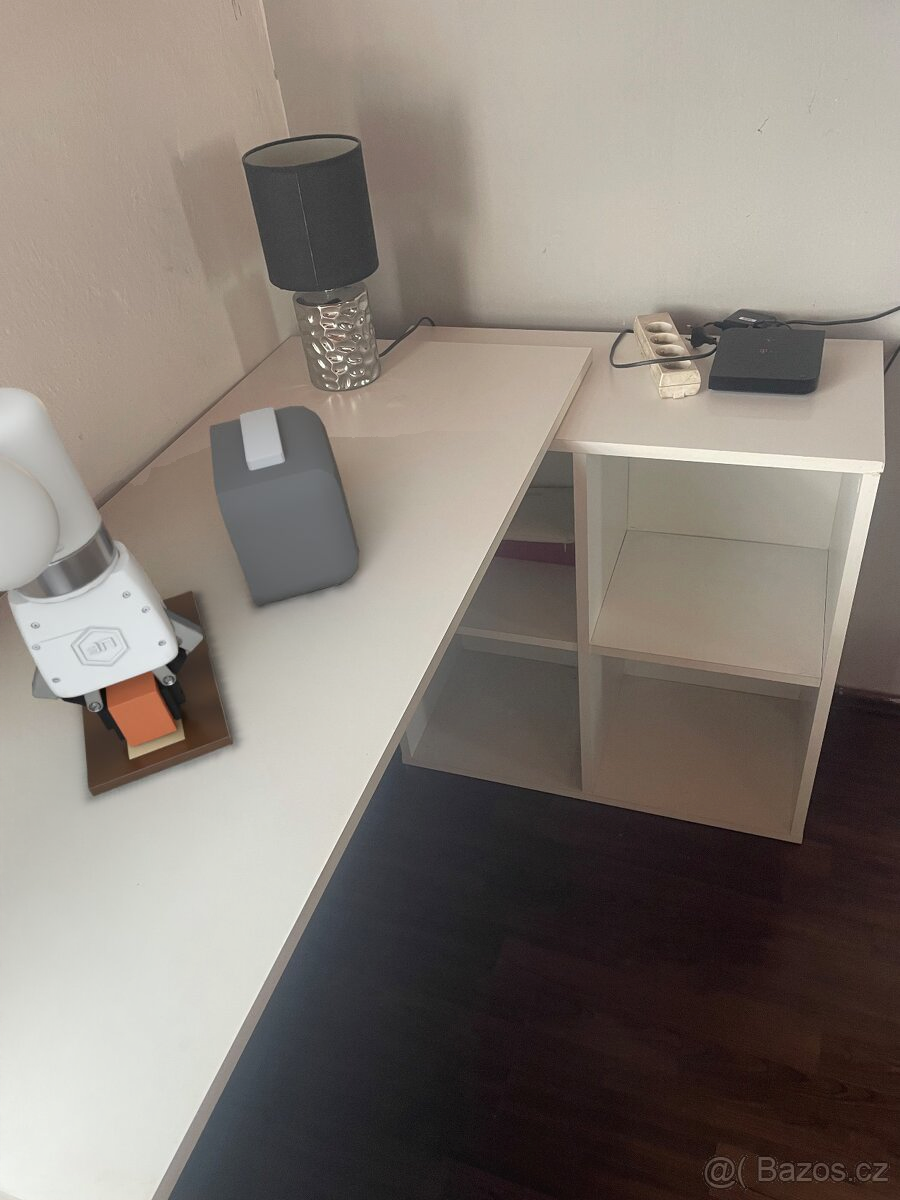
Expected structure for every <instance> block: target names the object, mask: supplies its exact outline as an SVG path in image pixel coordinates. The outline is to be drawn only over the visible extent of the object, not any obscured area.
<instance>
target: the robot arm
mask: <svg viewBox="0 0 900 1200" xmlns="http://www.w3.org/2000/svg"><path fill="white" fill-rule="evenodd" d="M69 451H70V450H69V449H68V447H67V445H66V443H65V441H64V439H63V437H62V435H61V433H60V431H59V429H58V427H57V425H56V423H55V421H54V419H53V417H52V415H51V413H50V412H49V410H48V408H47V407H46V405H45V403H44V402H43V401H42V400H41V399H40V398H39V397H38V396H36V395H35V394H34V393H32V392H31V391H29V390H27V389H23V388H19V387H13V386H12V387H11V386H10V387H9V386H5V387H0V592H7V601H8V604H9V607H10V612H11V613H12V616H13V618H14V621H15V623H16V626H17V628H18V631H19V633H20V635H21V637H22V639H23V642H24V643H25V646H26V647H27V649H28V651H29V654H30V656H31V657H32V660H33V661H34V663H35V669H34V673H33V679H32V682H31V695H32V697H33V698H35V699H38V700H39V699H40V700H55V701H57V700H58V699H59V700H62V701H63V702H64V703H70V704H73V705H79V706H82V705H83V706H87V708H88V710H89V711H91V712H97V714H98V715H99V717H100V719H101V720H102V722H103V723H104V725H105V727H106V728H107V730H111V729H114V730H115V732H116V734H117V735H118V737H119V739H120V740H121V741H122V740H125V739H126V738H125V737H124V735H123V733H122V732H121V730H120V728H119V727H118V725H117V723H116V722H115V720H114V718H113V716H112V715H111V713H110V711H109V710H108V705H107V696H106V687H107V686H109V685H112V684H115V683H118V682H121V681H124V680H126V679H129V678H132V677H135V676H137V675H140V674H143V673H146V672H149V671H151V672H152V673H153V674H154V675H155V676H156V677H157V680H158V686H159V691H160V693H161V695H162V697H163V699H164V701H165V703H166V705H167V707H168V709H169V711H170V712H171V714H172V716H173V718H174V720H175V719H176V720H179V719H182V718H183V717H182V712H181V707H180V704H182V703H185V702H186V699H185V695H184V692H183V690H182V688H181V686H180V684H179V682H178V680H177V678H176V675H177V673H178V671H179V670H180V668H181V667H182V665H183V663H184V662H185V660H186V658H187V654H188V653H189V652H191V651H192V650H193V649H194V648H195V647H196V646H197V645H198V644H199V643H200V642H201V641H202V639H203V635H202V631H201V627H200V626H199V625H197V624H195V623H193V622H191V621H189V620H187V619H185V618H183V617H181V616H179V615H177V614H175V613H173V612H171V611H169V610H168V609H167V608H166V606H165V604H164V603H163V601H162V600H163V599H162V597H161V595H160V594H159V592H158V590H157V589H156V587H155V585H154V584H153V582H152V581H151V579H150V577H149V576H148V574H147V573H146V571H145V569H144V568H143V567H142V565H141V564H140V563H139V561H138V559H137V558H136V557H135V556H134V555H133V553H131V551H130V550H129V549H128V548H127V546H126V545H125V544H124V543H123V542H121V541H119V540H113V538H112V536H111V534H110V532H109V530H108V528H107V526H106V524H105V522H104V520H103V517H102V516H101V514H100V512H99V510H98V507H97V506H96V504H95V502H94V500H93V497H92V495H91V494H90V491H89V490H88V488H87V485H86V484H85V481H84V479H83V478H82V476H81V474H80V471H79V469H78V467H77V466H76V464H75V461H74V459H73V457H72V456H71V453H70V452H69ZM176 636H177V639H176ZM161 642H162V643H161Z"/></svg>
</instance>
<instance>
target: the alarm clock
mask: <svg viewBox="0 0 900 1200" xmlns="http://www.w3.org/2000/svg"><path fill="white" fill-rule="evenodd" d="M327 431H328V430H327V428H326V426H325V424H324V423H323V421H322V419H321V418H320V416H319V415H318V413H317V412H315V411H314V410H311V409H310V408H308V407H306V406H304V405H290V406H286V407H281V408H277V409H274V407H273V406H269V407H264V408H259V409H256V410H251V411H248V412H243V413H241V414H239V418H237V419H233V420H229V421H225V422H224V421H223V422H221V423H216V424H212V425H210V426H209V441H210V451H211V453H210V454H211V463H212V465H211V466H212V476H213V484H214V485H213V486H214V490H215V497H216V499H217V503H218V506H219V510H220V513H221V516H222V519H223V522H224V525H225V528H226V531H227V534H228V536H229V539H230V541H231V544H232V547H233V549H234V552H235V554H236V557H237V560H238V563H239V565H240V568H241V570H242V573H243V576H244V578H245V581H246V584H247V586H248V589H249V591H250V594H251V598H252V599H253V602H254V604H255V605H256V606H257V607H260V606H264V605H268V604H270V603H275V602H278V601H282V600H286V599H289V598H293V597H297V596H300V595H304V594H308V593H312V592H316V591H320V590H322V589H327V588H331V587H335V586H338V585H341V584H343V583H344V582H346V581H348V580H350V579H352V577H353V576H354V575H355V573H356V572H357V570H359V561H360V560H359V559H360V548H359V545H358V540H357V536H356V532H355V528H354V524H353V520H352V516H351V513H350V508H349V504H348V501H347V496H346V493H345V489H344V486H343V482H342V478H341V475H340V474H341V473H340V471H339V468H338V465H337V461H336V458H335V453H334V452H333V448H332V445H331V441H330V438H329V434H328V432H327Z"/></svg>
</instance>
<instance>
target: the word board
mask: <svg viewBox="0 0 900 1200" xmlns="http://www.w3.org/2000/svg"><path fill="white" fill-rule="evenodd" d="M162 601H163V603H164V604H165V606H166V608H167V609H168V610H169V611H171V612H173V613H175V614H177V615H179V616H181V617H183V618H185V619H187V620H189V621H191V622H193V623H195V624H197V625H199V626H200V627H201V631H202V635H203V639H202V641H201V642H200V643H199V644H198V645H197V646H196V647H195V648H194V649H193V650H192V651H191V652H189V653H188V654H187V658H186V660H185V662H184V663H183V665H182V667H181V668H180V670H179V671H178V673H177V675H176V678H177V680H178V682H179V684H180V686H181V688H182V690H183V692H184V695H185V699H186V702H185V703H182V704H180V707H181V712H182V717H183V718H182V719H179V720H176V719H175V722H176V727H177V731H174V732H171V733H169V734H166V735H163V736H161V737H158V738H155V739H153V740H150V741H147V742H145V743H142V744H139V745H137V746H134V747H130V745H129V743H128V742H127V740H126V739H125V740H122V741H121V740H120V739H119V737H118V735H117V734H116V732H115V730H114V729H111V730H107V728H106V727H105V725H104V723H103V722H102V720H101V719H100V717H99V715H98V714H97V712H91V711H89V710H88V708H87V706H83V705H81V710H82V722H83V723H82V724H83V735H84V737H83V738H84V749H85V763H86V775H87V789H88V791H89V793H90V794H91V796H93V797H96V796H97V795H101V794H103V793H106V792H109V791H112V790H113V789H116V788H119V787H122V786H124V785H127V784H129V783H132V782H135V781H138V780H140V779H143V778H145V777H148V776H150V775H155V774H156V773H158V772H161V771H164V770H167V769H169V768H172V767H174V766H178V765H180V764H182V763H185V762H188V761H190V760H193V759H196V758H198V757H201V756H204V755H206V754H208V753H211V752H215V751H217V750H220V749H222V748H224V747H227V746H231V745H232V744H233V740H232V737H231V732H230V728H229V724H228V721H227V720H228V719H227V717H226V712H225V708H224V705H223V701H222V696H221V693H220V689H219V685H218V681H217V677H216V674H215V673H216V672H215V669H214V665H213V662H212V658H211V653H210V650H209V646H208V642H207V638H206V634H205V631H204V626H203V622H202V618H201V615H200V611H199V606H198V603H197V599H196V596H195V594H194V592H193V590H189V591H186V592H184V593H181V594H178V595H174V596H171V597H169V598H165V599H162ZM176 639H177V636H176Z"/></svg>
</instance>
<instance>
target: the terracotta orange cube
mask: <svg viewBox="0 0 900 1200" xmlns="http://www.w3.org/2000/svg"><path fill="white" fill-rule="evenodd" d="M106 696H107V705H108V710H109V711H110V713H111V715H112V716H113V718H114V720H115V722H116V723H117V725H118V727H119V728H120V730H121V732H122V733H123V735H124V737H125V738H126V740H127V742H128V743H129V745H130V747H134V746H137V745H139V744H142V743H145V742H147V741H150V740H153V739H155V738H158V737H161V736H163V735H166V734H169V733H171V732H174V731H177V727H176V722H175V720H174V718H173V716H172V714H171V712H170V711H169V709H168V707H167V705H166V703H165V701H164V699H163V697H162V695H161V693H160V691H159V686H158V680H157V677H156V676H155V675H154V674H153V673H152V672H151V671H149V672H146V673H143V674H140V675H137V676H135V677H132V678H129V679H126V680H124V681H121V682H118V683H115V684H112V685H109V686H107V687H106Z"/></svg>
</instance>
